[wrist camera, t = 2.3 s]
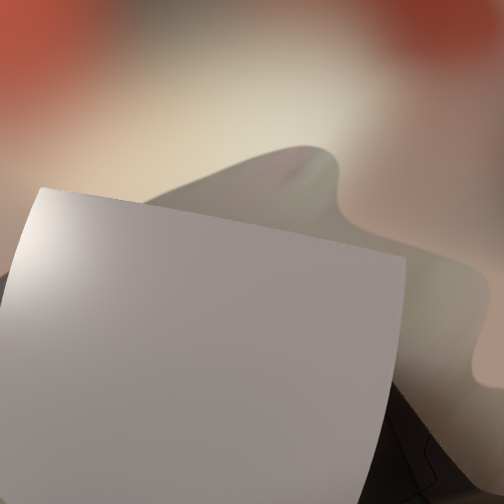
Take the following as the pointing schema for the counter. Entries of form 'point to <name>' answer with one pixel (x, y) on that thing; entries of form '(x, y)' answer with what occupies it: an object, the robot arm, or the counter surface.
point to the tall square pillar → (190, 359)
